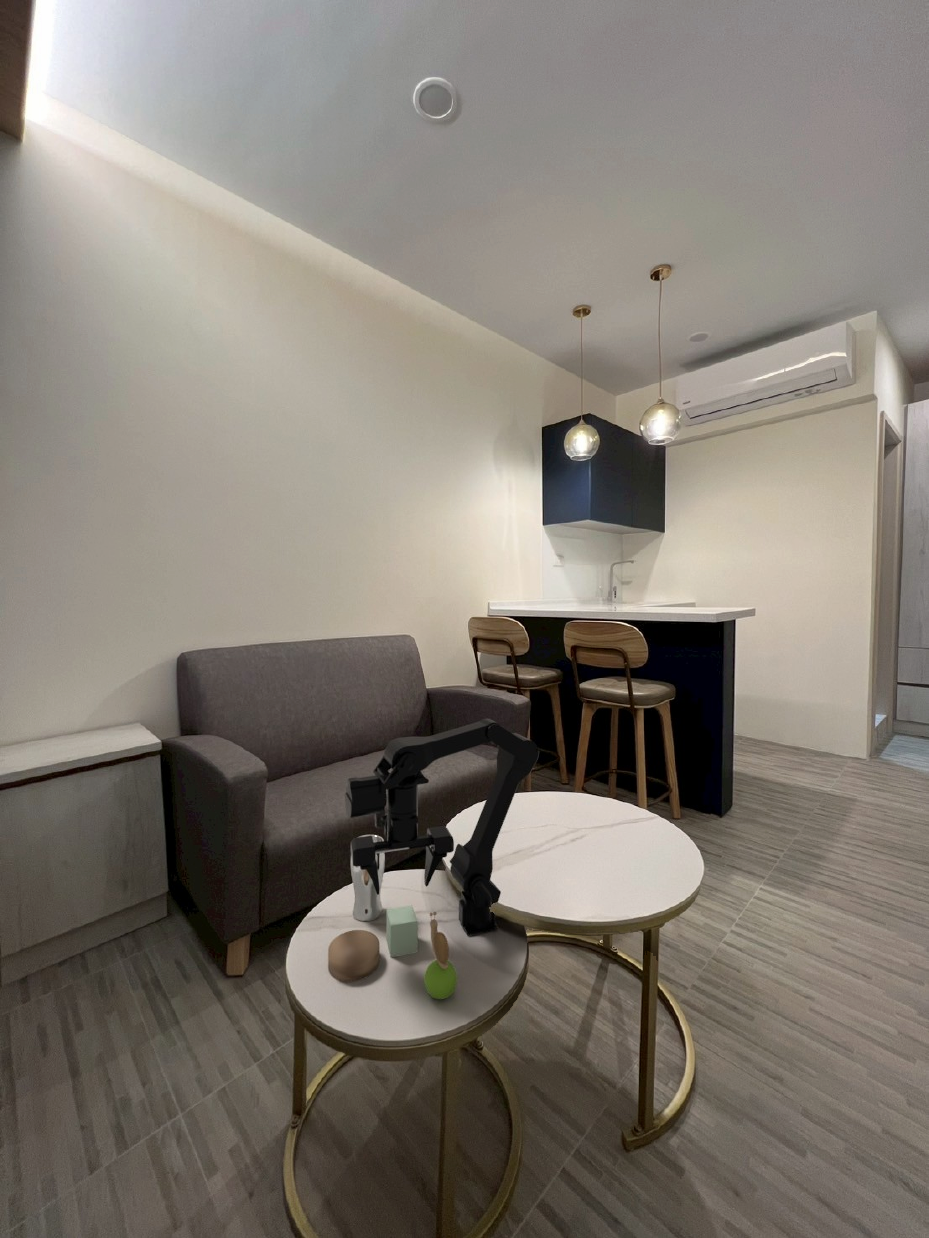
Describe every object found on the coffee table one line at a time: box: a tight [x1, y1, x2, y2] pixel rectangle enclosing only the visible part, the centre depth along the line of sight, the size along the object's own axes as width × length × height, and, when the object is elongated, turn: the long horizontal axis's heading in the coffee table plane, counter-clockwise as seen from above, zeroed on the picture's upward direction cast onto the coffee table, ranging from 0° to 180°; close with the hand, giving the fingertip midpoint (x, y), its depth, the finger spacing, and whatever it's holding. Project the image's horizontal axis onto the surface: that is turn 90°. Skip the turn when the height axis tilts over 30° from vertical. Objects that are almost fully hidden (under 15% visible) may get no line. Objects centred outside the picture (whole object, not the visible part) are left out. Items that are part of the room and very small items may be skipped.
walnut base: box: [327, 929, 380, 983], centre depth 90 cm, size 9×9×3 cm
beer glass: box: [350, 834, 386, 922], centre depth 104 cm, size 7×7×15 cm
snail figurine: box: [423, 911, 458, 1000], centre depth 83 cm, size 5×6×12 cm
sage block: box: [385, 904, 419, 958], centre depth 95 cm, size 5×5×6 cm
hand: (402, 889), depth 94 cm, fingers open, 9 cm apart
